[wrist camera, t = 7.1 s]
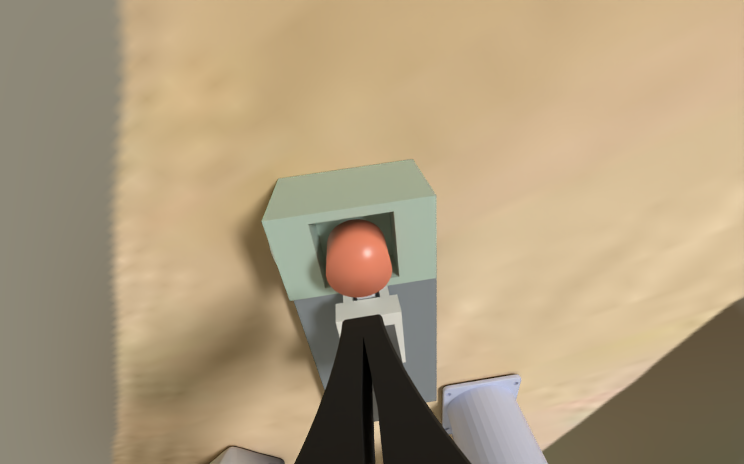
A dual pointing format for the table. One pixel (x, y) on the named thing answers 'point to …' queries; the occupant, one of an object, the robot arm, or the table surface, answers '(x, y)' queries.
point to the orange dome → (357, 259)
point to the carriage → (373, 306)
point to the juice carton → (244, 457)
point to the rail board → (416, 330)
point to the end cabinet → (347, 202)
